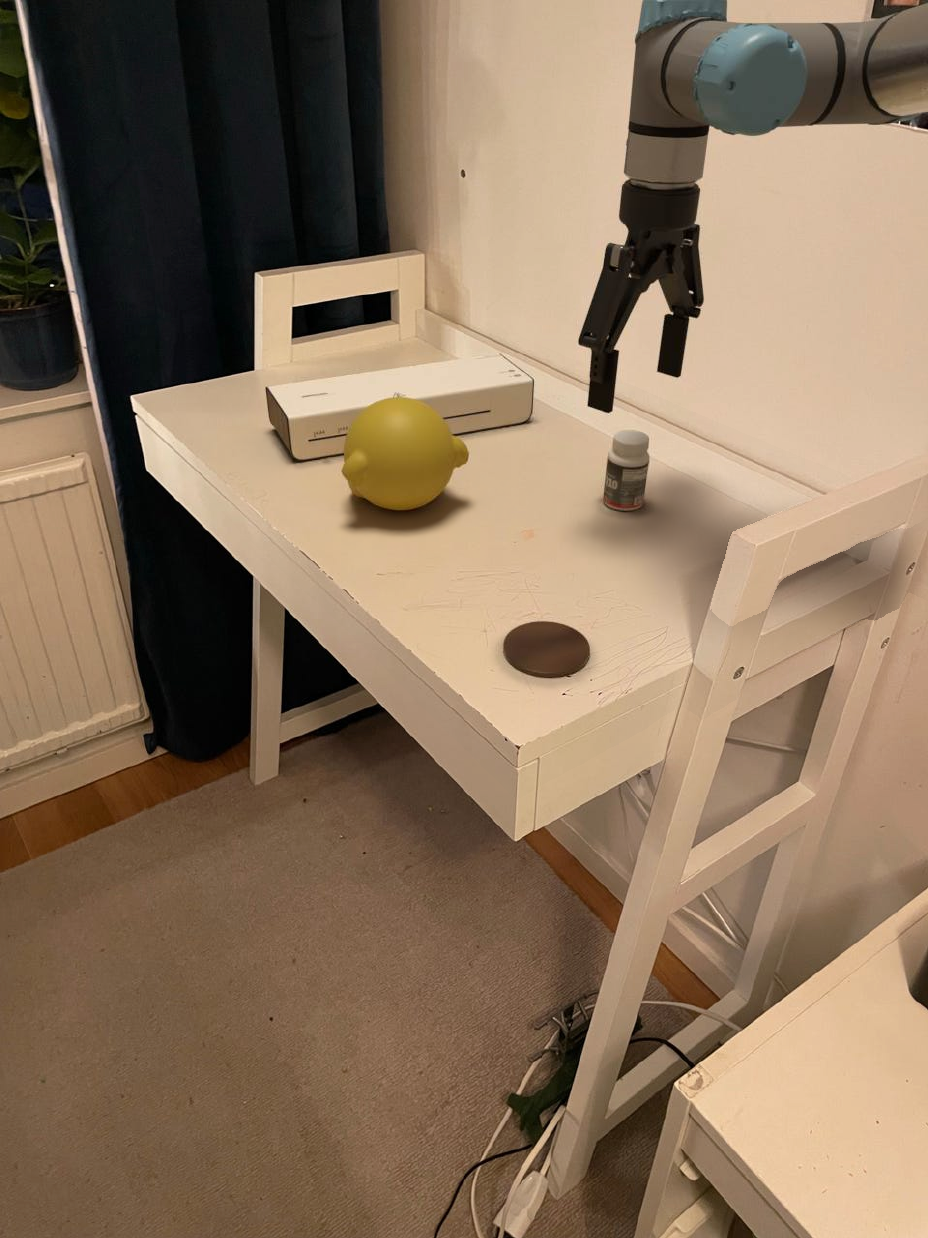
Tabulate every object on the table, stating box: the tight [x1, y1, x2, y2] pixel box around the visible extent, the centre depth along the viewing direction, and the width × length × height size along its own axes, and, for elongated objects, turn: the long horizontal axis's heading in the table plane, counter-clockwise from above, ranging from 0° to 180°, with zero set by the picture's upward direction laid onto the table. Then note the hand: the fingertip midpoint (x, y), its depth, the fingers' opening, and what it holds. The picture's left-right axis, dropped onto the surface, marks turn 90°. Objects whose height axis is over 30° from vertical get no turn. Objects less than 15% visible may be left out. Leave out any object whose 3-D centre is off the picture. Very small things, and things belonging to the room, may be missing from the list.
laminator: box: [264, 352, 535, 462], centre depth 126 cm, size 34×12×6 cm, turn 113°
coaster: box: [502, 620, 591, 678], centre depth 87 cm, size 8×8×1 cm
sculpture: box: [341, 397, 470, 511], centre depth 106 cm, size 15×13×13 cm
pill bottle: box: [602, 429, 650, 512], centre depth 108 cm, size 5×5×8 cm
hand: (635, 391), depth 103 cm, fingers open, 13 cm apart
